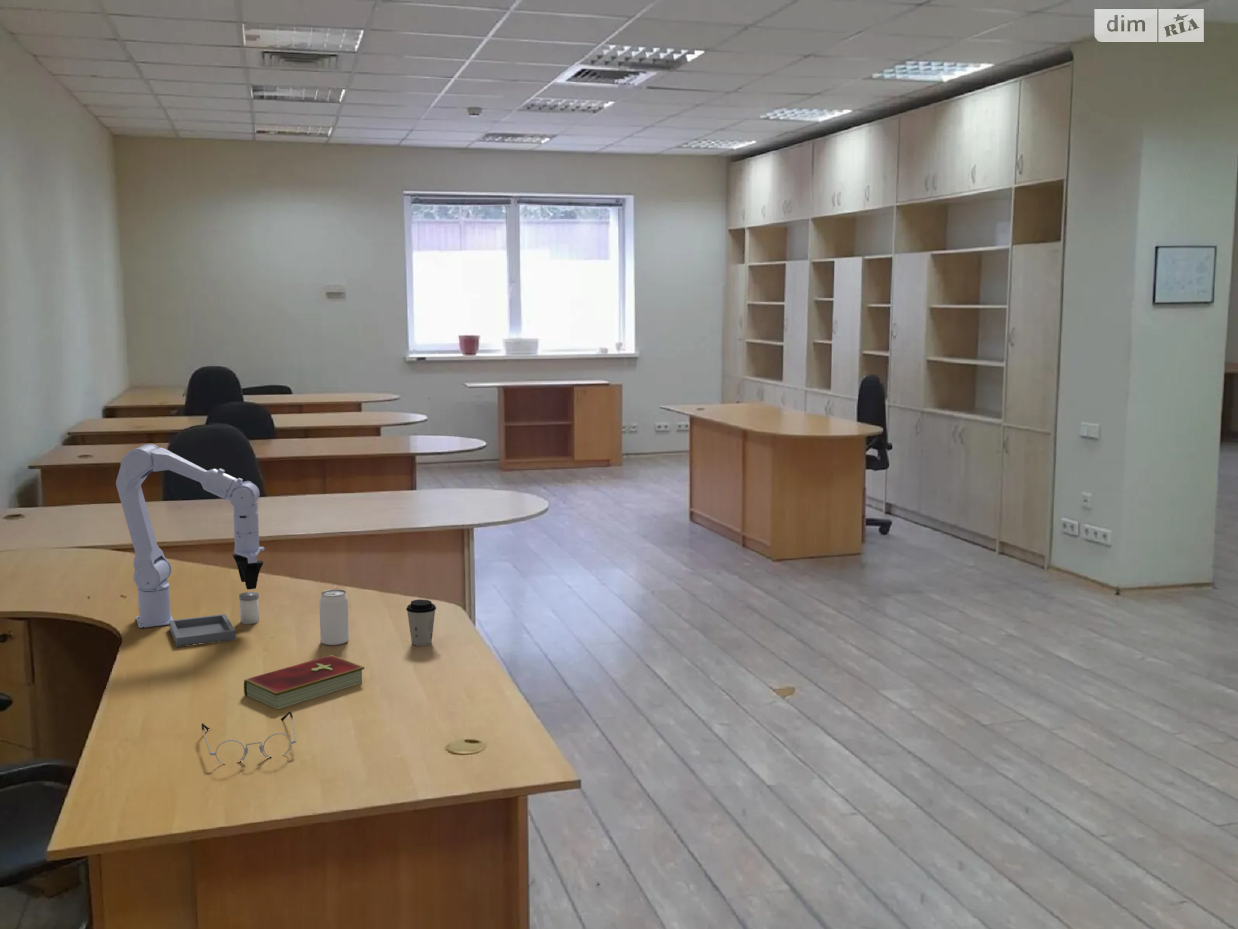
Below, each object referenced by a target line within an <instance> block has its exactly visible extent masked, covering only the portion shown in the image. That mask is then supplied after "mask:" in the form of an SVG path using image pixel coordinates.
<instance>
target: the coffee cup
mask: <svg viewBox="0 0 1238 929" xmlns="http://www.w3.org/2000/svg"><path fill="white" fill-rule="evenodd" d="M405 610H406V612H407V620H408V624H409V625H408V626H409V633H410V640H411V645H412V644H414V645H416V646H415V647H428V646H431V645H432V641H433V632H434V623H435V615H436V614H435V613H436V610H437V607H436V605H435V604H434V603H433V602H432V601H431V600H428V599H414V600H411V601H410V603H409V604H408V605H407V606H406V608H405ZM414 645H413V646H414ZM427 645H428V646H427Z"/></svg>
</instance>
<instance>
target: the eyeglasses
mask: <svg viewBox="0 0 1238 929" xmlns="http://www.w3.org/2000/svg"><path fill="white" fill-rule="evenodd" d="M288 716H289V717H290V720H291V723H292V731H293V736H294V740H291V738H290V737H289V736H288V734H285V733H284V732H277V733H272V734H271V735H269V736H267V738H266V739H265V741H264V742H263V743H262V741H258V742H252V743H246V744H245V746H244V745H243V744H242V742H240V741H238V740H235V739H227V740H224V741H223V742H221V743H219V744H218V746H217V747H216V750H215V751H211V748H210V746H209V743H208V739H207V736H206V733H205V731H208V729H210V727H208V726H207V725H205V723H201V730H202V733H203V734H204V735H203V736H204V739H205V743H206V747H207V750H208V754H209V756H215V758H216V759H217V761H218V762H219V763H220V764H222V763H223V762H222V761H221V760H219V758H218V755H217V751H218V749H219V747H220V746H221V745H222V744H225V743H227V742H235V743H238V744H240V745H241V746H242V748H243V755H242V757H241V758H240V759H239V760H243V761H244V760H245V759H246V756H247V755H248V752H249V747H248V746H251V745H257V744H259V746H258V748H259V749H258V750H259V751H260V753H262V755H263V757H265V758H266V757H269V756H270V755H268V754H267V752H266V751H265V744H266V743H267V741H268V740H269V739H270V738H271V737H273V736H276V735H283V736H286V737H287V738H288V739H289V748H288V749H287V750H286V752H285V753H284V754H285V755H286V754H288V753H289V751H290V749H291V746H292V745H293V744H296V743H297V737H296V732H295V731H296V730H295V726H294V721H293V720H294V717H293V713H292V712H291V711H288V712H287V713H286V714H285V715H284V716H282V717H281V718H280V720H281V721H285V720H286V718H287V717H288ZM205 729H206V730H205Z"/></svg>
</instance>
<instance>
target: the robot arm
mask: <svg viewBox="0 0 1238 929" xmlns="http://www.w3.org/2000/svg"><path fill="white" fill-rule="evenodd" d="M161 471H171V472H172V473H176V474H178V475H180V476H184V477H186V478H189V479H191V480H193V481H195V482H199V483H200V484H201V486H202V489H203V490H204V491H206V492H209V493H211V494H212V495H214V496H217V497H219V498H221V499H224V500H226V501H229V502H230V504H231V505H232V506H233V536H234V549H233V554H231V556H232V557H233V559H234V561H235V563H236V566H237V569H238V570H237V571H238V574H239V577H240V578H239V579H240V582H241V583H244V584H245V587H246V588H245V589H246V590H247V591H248V590H255V589H256V588H257V585H258V581H259V580H258V579H259V574H260V571H261V570H262V567H263V565H264V561H263V560H258V555H259V554H260V553H261V552H264V551H265V547H264V546H260V535H259V532H260V529H259V512H258V511H259V510H258V502H257V501H258V500H259V498H260V489H259V487H258V486H257V485H256V484H255V483H253V482H252V481H250V480H246V481H243V480H244V479H243V478H240V477H238V478H236V477H234V476H232V475H230V474H227V473H225V472H226V470H225V469H223V468H218V469H217V468H211V469H209V470H206V469H205V468H203V467H201V466H199V465H197V464H195V463H193V462H191V461H189V460H187V459H185V458H183V457H181V456H180V455H178V454H176V453H173V452H172V451H170V450H168V449H166V448H164V447H159V446H158V445H157V444H153V443H146V444H143V445H141V446H140V447H137V448H133V449H130V450H129V451H128V452H126V454H125V455H124V456H123V457H122V459H121V460H120V467H119V471H118V474H117V477H116V481H115V486H116V489H117V492H118V497H119V500H120V503H121V507H122V511H123V514H124V518H125V521H126V522H125V523H126V525H127V528H128V532H129V535H130V539H131V543H132V546H133V549H134V550H133V551H134V558H133V559H134V560H133V567H134V573H133V582H134V583H135V586H136V587H137V601H138V602H137V603H138V615H136V616H135V619H136V623H137V625H138V626H137V627H138V628H139V629H142V628H143V627H144V628H151V627H159V626H167V625H168V626H169V621H171V620H174V618H173V616H172V613H171V595H170V594H171V593H170V583H169V580H168V578H170V576H171V574H172V571H173V570H172V565H171V563H170V561H169V560H168V559H167V558H166V557H165V555H164V551H163V550H162V549H161V547H159V546H158V542H157V538H156V536H155V532H154V528H153V524H152V521H151V517H150V514H149V511H148V507H147V503H146V500H145V496H144V492H143V489H142V484H143V482H144V481H145V480H146V478H148V475H149V474H151V473H152V472H161Z"/></svg>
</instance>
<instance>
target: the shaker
mask: <svg viewBox="0 0 1238 929" xmlns="http://www.w3.org/2000/svg"><path fill="white" fill-rule="evenodd" d="M259 594H260V593H259V592H257V591H245V592H242V593H239V595H238V599H239V616H240V624H243V625H253V624H257V623H259V622H260V607H259V606H260V605H259V599H260V596H259Z"/></svg>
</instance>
